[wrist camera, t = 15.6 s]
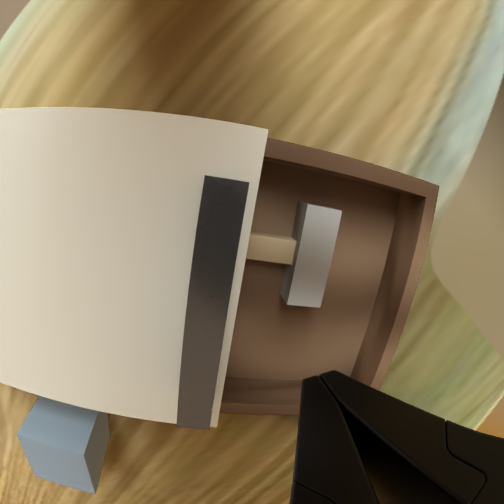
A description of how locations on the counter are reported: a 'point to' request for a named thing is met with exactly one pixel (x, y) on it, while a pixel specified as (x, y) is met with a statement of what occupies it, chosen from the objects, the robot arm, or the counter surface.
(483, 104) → the counter surface
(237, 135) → the lid
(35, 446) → the blue gray block
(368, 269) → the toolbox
